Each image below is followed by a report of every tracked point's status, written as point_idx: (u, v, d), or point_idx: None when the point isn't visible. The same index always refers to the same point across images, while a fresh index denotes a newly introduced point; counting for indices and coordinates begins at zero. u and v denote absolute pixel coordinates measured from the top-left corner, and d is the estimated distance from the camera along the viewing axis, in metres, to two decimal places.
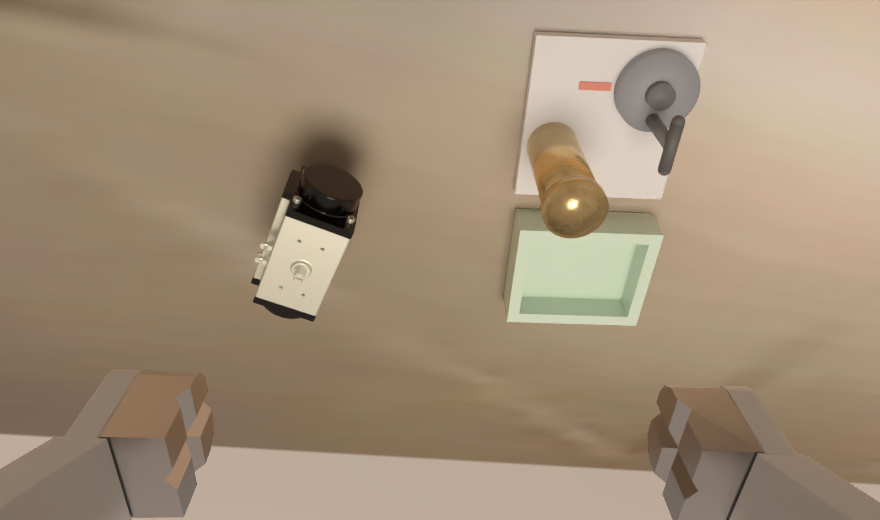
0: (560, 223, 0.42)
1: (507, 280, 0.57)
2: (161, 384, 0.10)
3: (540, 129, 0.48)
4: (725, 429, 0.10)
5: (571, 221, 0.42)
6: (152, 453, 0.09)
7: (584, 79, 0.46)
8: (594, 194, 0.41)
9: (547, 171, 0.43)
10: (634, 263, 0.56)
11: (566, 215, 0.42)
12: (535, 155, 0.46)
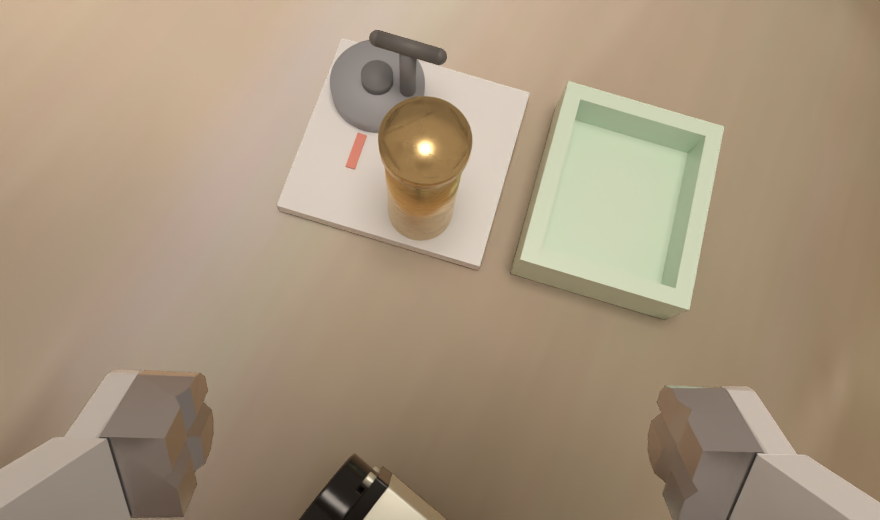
0: (440, 159, 0.29)
1: (625, 304, 0.38)
2: (161, 384, 0.10)
3: (389, 217, 0.38)
4: (725, 430, 0.10)
5: (441, 146, 0.29)
6: (152, 453, 0.09)
7: (344, 161, 0.39)
8: (405, 111, 0.29)
9: (391, 185, 0.32)
10: (620, 127, 0.40)
11: (429, 150, 0.29)
12: (400, 216, 0.35)
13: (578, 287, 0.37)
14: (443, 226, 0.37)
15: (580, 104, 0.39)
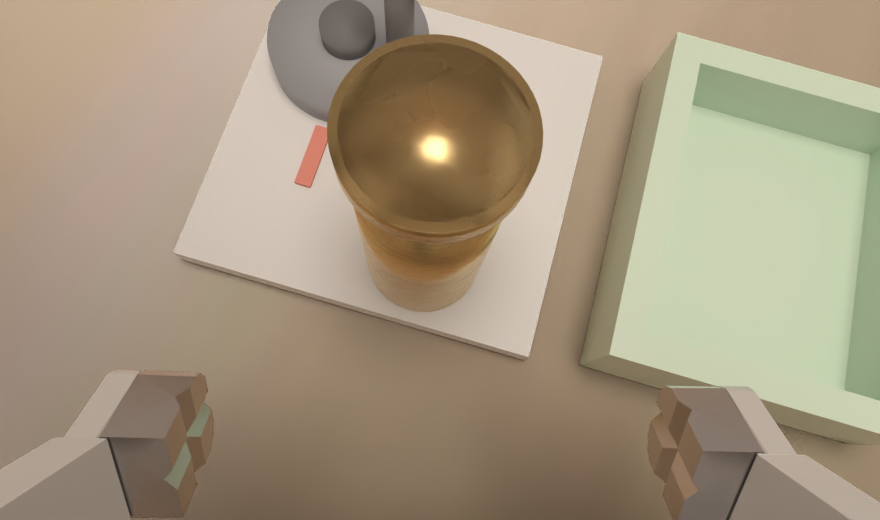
0: (472, 177, 0.12)
1: (787, 421, 0.21)
2: (161, 384, 0.10)
3: (370, 273, 0.21)
4: (725, 429, 0.10)
5: (472, 145, 0.13)
6: (152, 453, 0.09)
7: (293, 174, 0.23)
8: (390, 68, 0.13)
9: (364, 228, 0.15)
10: (760, 113, 0.24)
11: (446, 156, 0.12)
12: (386, 278, 0.19)
13: None
14: (465, 289, 0.21)
15: (697, 72, 0.23)
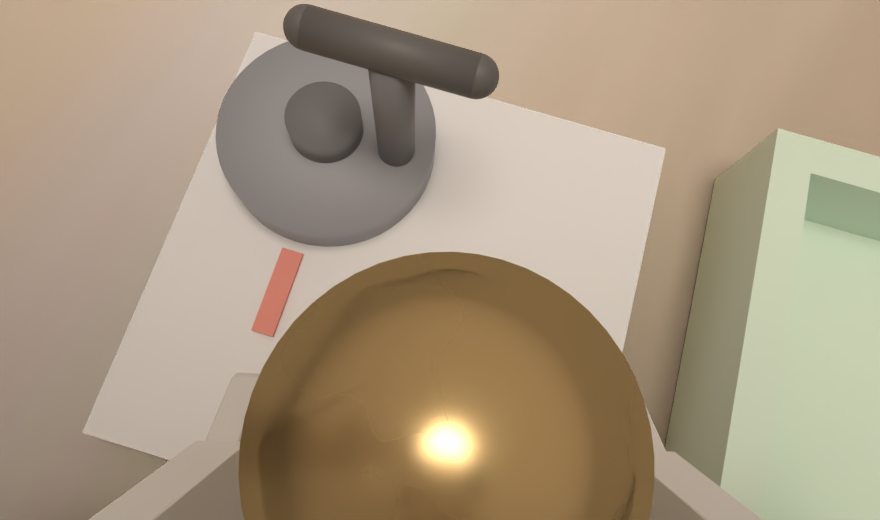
0: None
1: None
2: None
3: None
4: None
5: (519, 487, 0.07)
6: None
7: (250, 317, 0.17)
8: (363, 322, 0.07)
9: None
10: None
11: (469, 512, 0.06)
12: None
13: None
14: None
15: None
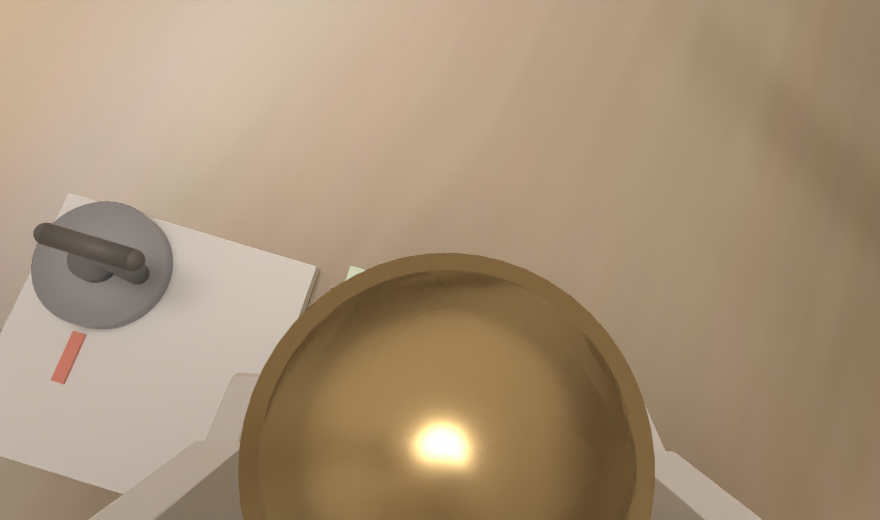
0: None
1: None
2: None
3: None
4: None
5: (519, 489, 0.06)
6: None
7: (51, 372, 0.29)
8: (363, 324, 0.07)
9: None
10: None
11: (470, 515, 0.06)
12: None
13: None
14: None
15: None
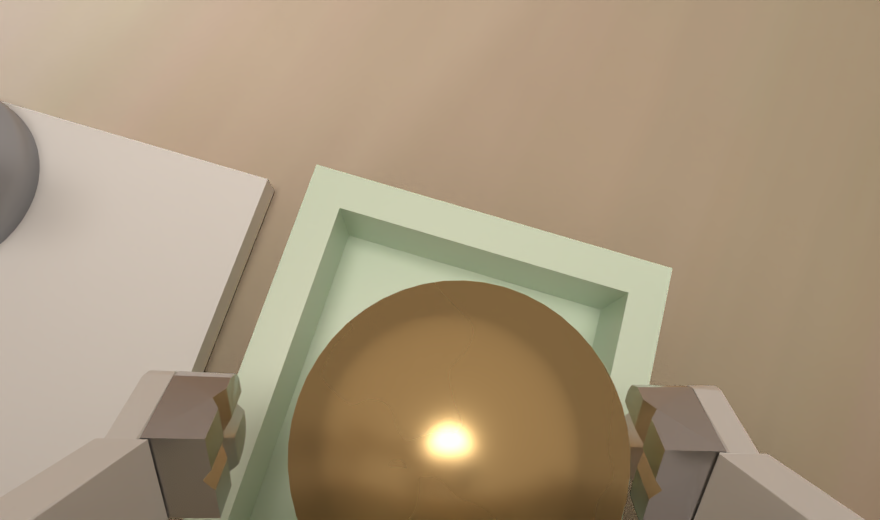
0: None
1: None
2: (198, 385, 0.10)
3: None
4: (688, 429, 0.10)
5: (520, 476, 0.08)
6: (192, 454, 0.09)
7: None
8: (390, 340, 0.08)
9: None
10: (451, 259, 0.18)
11: (479, 498, 0.08)
12: None
13: None
14: None
15: (347, 216, 0.17)
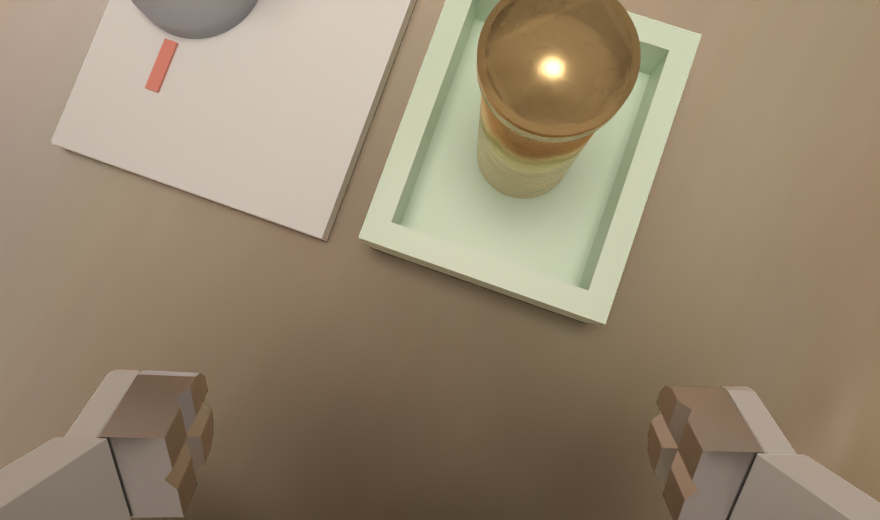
0: (583, 93, 0.17)
1: (527, 301, 0.26)
2: (161, 384, 0.10)
3: (479, 164, 0.26)
4: (725, 429, 0.10)
5: (585, 68, 0.17)
6: (152, 453, 0.09)
7: (145, 80, 0.28)
8: (525, 5, 0.17)
9: (490, 128, 0.20)
10: None
11: (565, 76, 0.17)
12: (497, 169, 0.23)
13: (457, 276, 0.26)
14: (558, 181, 0.25)
15: None
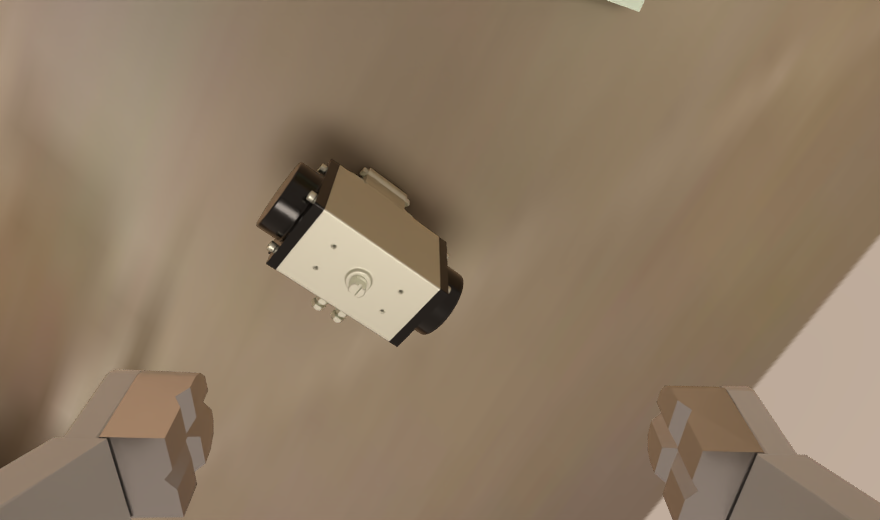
0: None
1: None
2: (161, 384, 0.10)
3: None
4: (725, 429, 0.10)
5: None
6: (152, 453, 0.09)
7: None
8: None
9: None
10: None
11: None
12: None
13: None
14: None
15: None
